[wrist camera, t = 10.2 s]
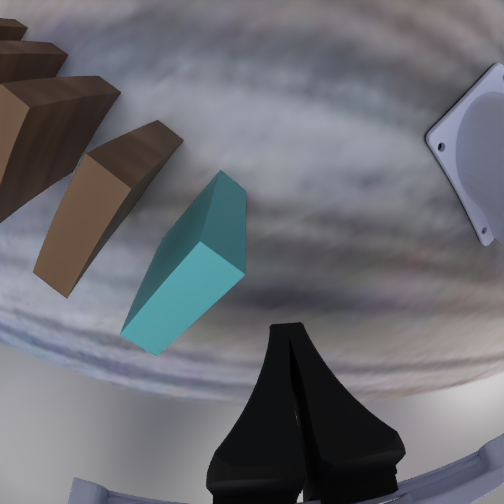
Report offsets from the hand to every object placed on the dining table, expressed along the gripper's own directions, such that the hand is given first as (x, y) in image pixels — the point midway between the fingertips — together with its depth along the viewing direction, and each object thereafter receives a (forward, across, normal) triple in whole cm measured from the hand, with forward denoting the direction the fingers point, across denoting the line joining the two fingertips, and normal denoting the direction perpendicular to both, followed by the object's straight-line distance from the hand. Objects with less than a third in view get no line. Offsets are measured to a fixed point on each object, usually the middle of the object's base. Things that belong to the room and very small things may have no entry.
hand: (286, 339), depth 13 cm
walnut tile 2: (+5, +6, -7) cm, 10 cm away
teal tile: (+5, +4, -4) cm, 7 cm away
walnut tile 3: (+5, +9, -10) cm, 14 cm away
